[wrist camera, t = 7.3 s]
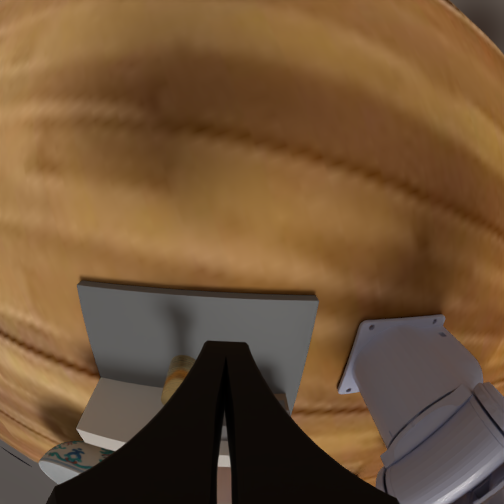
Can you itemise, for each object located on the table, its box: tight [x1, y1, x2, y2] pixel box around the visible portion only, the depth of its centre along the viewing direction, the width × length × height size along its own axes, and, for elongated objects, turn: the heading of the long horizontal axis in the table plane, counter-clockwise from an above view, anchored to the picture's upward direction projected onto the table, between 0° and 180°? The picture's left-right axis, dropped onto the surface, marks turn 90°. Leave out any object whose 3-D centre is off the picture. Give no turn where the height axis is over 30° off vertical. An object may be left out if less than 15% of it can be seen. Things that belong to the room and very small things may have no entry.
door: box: [76, 281, 319, 467], centre depth 17 cm, size 17×13×7 cm
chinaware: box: [39, 440, 115, 484], centre depth 21 cm, size 15×15×8 cm
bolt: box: [161, 355, 290, 416], centre depth 15 cm, size 8×6×3 cm
